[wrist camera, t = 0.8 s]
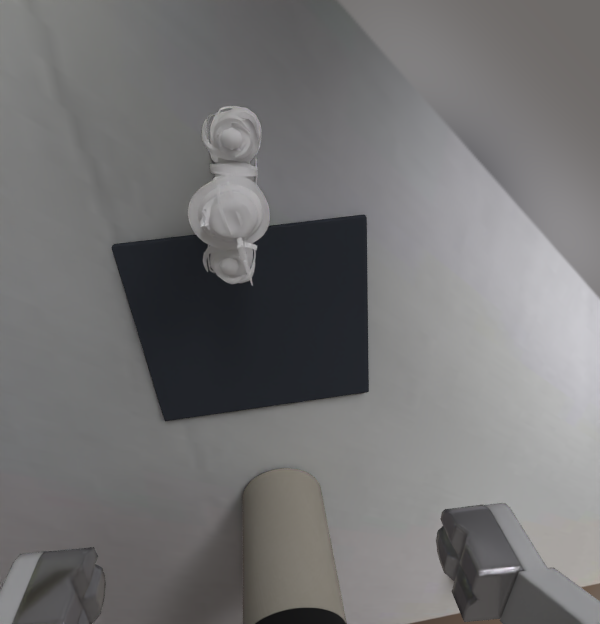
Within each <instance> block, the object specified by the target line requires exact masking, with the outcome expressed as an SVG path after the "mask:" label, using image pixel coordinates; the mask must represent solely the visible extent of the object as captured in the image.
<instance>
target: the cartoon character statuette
mask: <svg viewBox="0 0 600 624" xmlns="http://www.w3.org/2000/svg"><path fill="white" fill-rule="evenodd" d="M227 108H233V109H231V110H229V111H225V112H220V110H223V109H227ZM210 116H215V117H214V119H213V121H212V123H211V125H210V136H208V129H209V120H210ZM206 124H207V129H206ZM201 135H202V142H203V144H204V145H205V147H206V149H207V150H208V151H209V152H210V156H211V159H212V160H213V161H214V162H215V164H211V163H210V165H209V167H210V172H211V173H213V174H216V175H215V178H214V179H213V181H211V182H209V183H207V184H206V185H204V186H202V187H201V188H200V189H199V190H198V191H197V192H196V193H195V194H194V195H193V197H192V198H191V200H190V203H189V206H188V219H189V222H190V225H191V227H192V229H193V231H194V233H195V234H196V235H197V236H198V238H200V239H201V240H202V241H203V242H205V243H206V244H208V247H207V249H206V251H205V252H204V255H203V264H204V267H205V269H206V271H207V272H208V268H207V259H208V266H209V270H210V271H211V272H213V273H216V274H217V276H218V277H220V278H221V279H222V280H223V281H225V282H226V283H229V284H237V283H244V282H247V281H249V280H250V282H251V285H252V286H253V283H252V276H253V273H254V269H255V258H256V251H255V250H257V246H256V245H255V244H252V243H254V242H255V241H257V240H259V239H260V238H261V237H262V236H263V235H264V234H265V232H266V231H267V229H268V226H269V222H270V210H269V206H268V203H267V200H266V198H265V196H264V194H263V192H262V191H261V189H260V188H259V187H258V186H257V158H255V165H254V166H252V165H250V161H251V159H252V158H253V157H254V156H255V155H257V154H258V152H259V149H260V144H261V124H260V121H259V120H258V118H257V116H256V114H255V113H253V112H252V111H250V110H249V109H248V108H246V107H237V106H226V107H222V108H220V109H219V111H218V112H217V113H216V114H215V115H209V116H208V120H207V118H206V119H205V121H204V123H203V126H202V130H201ZM209 138H210V143H211V144H210V143H209ZM258 142H259V144H258ZM253 177H254V178H253ZM209 245H210V246H209ZM252 249H254V259H253V250H252ZM209 254H211V255H210V259H209ZM252 260H253V263H252ZM251 265H252V266H251ZM210 266H211V267H210ZM250 267H251V269H250ZM211 268H212V269H213V270H211ZM246 273H247V274H246Z"/></svg>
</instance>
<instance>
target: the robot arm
mask: <svg viewBox="0 0 600 624" xmlns="http://www.w3.org/2000/svg"><path fill="white" fill-rule="evenodd" d="M441 521H442V524H443V527H442V528H440V529H439V530H438V533H437V538H436V543H437V552H438V556H439V560H440V563H441V566H442V568H443V571H444V573H445V574H446V575H448V576H449V577H450V578H451V579H452V580H453V581H454V585H453V589H452V593H453V596H454V598H455V601H456V603H457V606H458V608H459V610H460V613H461V615H462V618H463V620H464V622H470V621H479V620H489V619H500V618H501V619H500V621H501V622H502V623H503V624H600V601H599V600H597V599H595V598H594V597H593V596H592V595H590V594H589V593H587V592H586V591H585V590H584V589H582V588H581V587H579V586H578V585H577V584H575V583H574V582H573V581H571V580H570V579H569V578H567V577H566V576H564V575H563V574H562V573H560V572H559V571H558V570H556V569H555V568H547V566H546V565H545V563H544V562H543V560H542V558H541V557H540V555H539V554H538V552H537V550H536V549H535V547H534V545H533V544H532V542H531V541H530V539H529V537H528V536H527V534H526V533H525V531H524V529H523V528H522V526H521V524H520V523H519V521H518V520H517V518H516V516H515V515H514V513H513V512H512V510H511V508H510V507H509V506H508V505H507V504H505V503H497V504H490V505H476V506H468V507H460V508H452V509H445V510H444V511H443V512H442V515H441ZM97 557H98V555H97V553H96V551H95V548H94V547H89V548H79V549H68V550H58V551H44V552H35V553H25V554H20V555H19V556H18V558H17V559H16V560H15V561H14V562H13V564H12V566H11V569H10V571H9V573H8V575H7V577H6V579H5V581H4V583H3V586H2V588H1V590H0V624H92V623H93V622H94V621H95V620H96V619H97V617H98V616H99V615H100V614H101V610H102V606H103V602H104V596H105V585H106V584H105V574H104V572H103V569H102V568H101V567H100V566H98V565H96V561H97Z"/></svg>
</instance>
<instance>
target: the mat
mask: <svg viewBox="0 0 600 624" xmlns="http://www.w3.org/2000/svg"><path fill="white" fill-rule="evenodd" d="M252 244H255V245H256V246H257V250H255V251H256V258H255V269H254V273H253V276H252V283H253V286H252V285H251V282H250V280H249V281H247V282H244V283H237V284H229V283H226V282H225V281H223V280H222V279H221V278H220V277H218V276H217V274H216V273H213V272H211V271H210V270H209V266H208V259H207V268H208V272H207V271H206V269H205V267H204V264H203V255H204V252H205V251H206V249H207V247H208V244H206V243H205V242H203V241H202V240H201V239H200V238H198V236H197V235H188V236H180V237H171V238H163V239H154V240H146V241H138V242H129V243H121V244H114V245H113V246H112V250H113V253H114V257H115V260H116V263H117V266H118V270H119V273H120V276H121V279H122V283H123V286H124V289H125V293H126V296H127V299H128V302H129V306H130V309H131V312H132V315H133V319H134V322H135V325H136V328H137V332H138V335H139V338H140V342H141V345H142V348H143V351H144V355H145V358H146V361H147V364H148V368H149V371H150V374H151V377H152V381H153V384H154V387H155V391H156V394H157V397H158V400H159V404H160V407H161V410H162V413H163V417H164V420H165V421H169V420H176V419H183V418H190V417H197V416H204V415H211V414H218V413H225V412H232V411H239V410H246V409H253V408H260V407H267V406H274V405H281V404H288V403H295V402H302V401H309V400H316V399H323V398H330V397H337V396H344V395H351V394H358V393H365V392H369V380H368V301H367V221H366V216H365V215H357V216H349V217H340V218H332V219H323V220H315V221H306V222H298V223H290V224H281V225H273V226H268V229H267V231H266V232H265V234H264V235H263V236H262V237H261V238H260V239H259V240H257V241H255V242H254V243H252ZM209 246H210V245H209ZM252 250H253V259H254V249H252ZM210 255H211V254H209V259H210ZM252 263H253V260H252ZM251 266H252V265H251ZM210 267H211V266H210ZM250 269H251V267H250ZM211 270H213V269H212V268H211ZM246 274H247V273H246Z"/></svg>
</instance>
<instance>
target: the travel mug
mask: <svg viewBox="0 0 600 624" xmlns="http://www.w3.org/2000/svg"><path fill="white" fill-rule="evenodd" d="M243 624H347V623H346V618H345V613H344V608H343V602H342V597H341V592H340V587H339V582H338V576H337V571H336V566H335V561H334V555H333V550H332V545H331V540H330V534H329V529H328V524H327V519H326V514H325V508H324V503H323V498H322V493H321V487H320V485H319V483H318V481H317V480H316V479H315V478H314V477H313V476H312V475H310V474H308V473H307V472H304V471H301V470H298V469H290V468H283V469H275V470H271V471H268V472H265V473H263V474H261V475H259V476H257V477H256V478H254V479H253V480H252V481H251V482H250V483H249V484H248V485H247V487H246V488H245V490H244V493H243Z"/></svg>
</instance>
